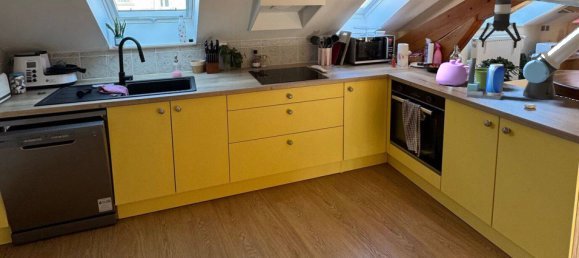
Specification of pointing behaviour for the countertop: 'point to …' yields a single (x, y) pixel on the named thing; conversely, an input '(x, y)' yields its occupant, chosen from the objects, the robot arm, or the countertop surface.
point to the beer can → (495, 79)
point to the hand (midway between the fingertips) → (497, 54)
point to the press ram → (472, 77)
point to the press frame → (483, 94)
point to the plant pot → (481, 76)
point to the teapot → (452, 73)
